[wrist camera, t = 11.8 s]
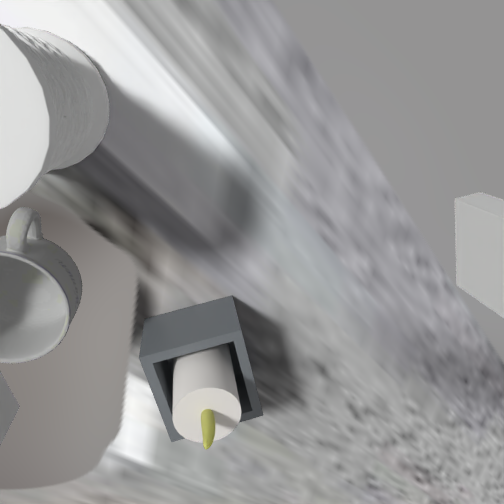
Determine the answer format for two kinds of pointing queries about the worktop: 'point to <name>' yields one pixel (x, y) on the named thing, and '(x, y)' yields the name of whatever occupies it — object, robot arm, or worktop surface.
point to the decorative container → (45, 108)
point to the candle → (205, 395)
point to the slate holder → (191, 340)
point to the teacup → (34, 290)
